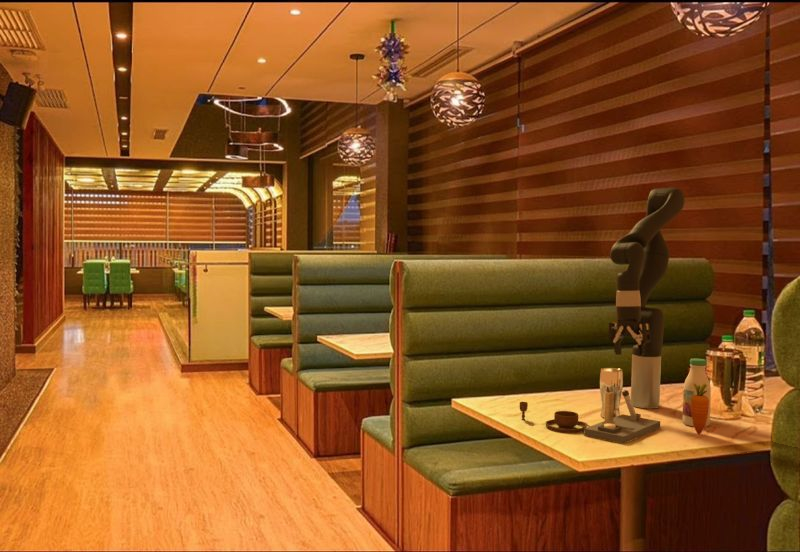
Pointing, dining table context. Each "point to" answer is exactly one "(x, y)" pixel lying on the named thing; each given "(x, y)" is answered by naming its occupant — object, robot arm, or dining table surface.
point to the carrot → (699, 408)
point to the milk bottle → (698, 378)
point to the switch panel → (623, 428)
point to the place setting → (560, 420)
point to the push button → (610, 426)
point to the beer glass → (611, 387)
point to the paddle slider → (609, 408)
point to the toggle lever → (629, 402)
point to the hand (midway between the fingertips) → (629, 355)
